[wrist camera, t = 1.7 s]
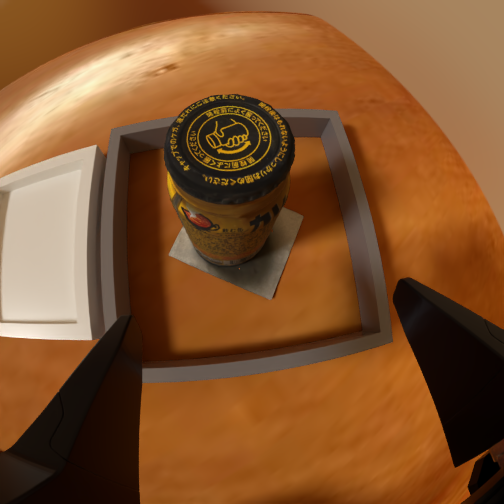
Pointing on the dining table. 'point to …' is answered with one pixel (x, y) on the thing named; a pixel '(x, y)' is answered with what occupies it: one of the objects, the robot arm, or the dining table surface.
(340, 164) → the gray square frame
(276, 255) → the condiment
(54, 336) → the tray
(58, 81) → the dining table surface
